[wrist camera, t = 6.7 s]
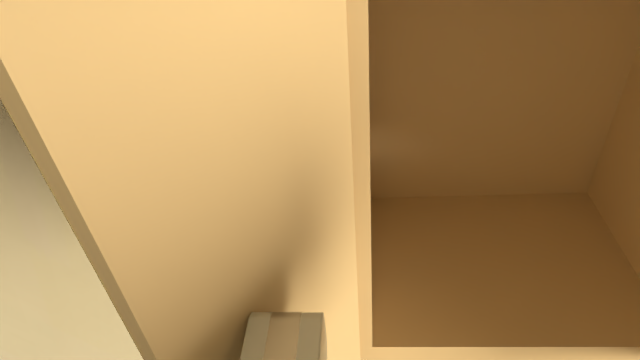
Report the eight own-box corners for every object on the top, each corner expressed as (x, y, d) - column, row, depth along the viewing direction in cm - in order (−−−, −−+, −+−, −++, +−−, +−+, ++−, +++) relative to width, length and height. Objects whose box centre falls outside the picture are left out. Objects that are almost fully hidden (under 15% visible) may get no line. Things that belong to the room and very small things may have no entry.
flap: (340, -137, 9) (-50, -38, 5) (361, 370, 20) (252, 544, 15) (313, -136, 9) (-78, -41, 5) (348, 363, 20) (238, 532, 16)
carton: (757, -233, 16) (1167, -264, 8) (593, 206, 27) (691, 368, 20) (328, -192, 17) (311, -185, 9) (349, 211, 29) (349, 367, 21)
